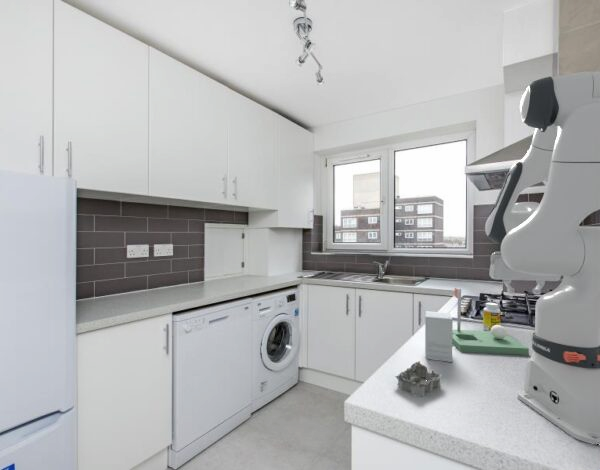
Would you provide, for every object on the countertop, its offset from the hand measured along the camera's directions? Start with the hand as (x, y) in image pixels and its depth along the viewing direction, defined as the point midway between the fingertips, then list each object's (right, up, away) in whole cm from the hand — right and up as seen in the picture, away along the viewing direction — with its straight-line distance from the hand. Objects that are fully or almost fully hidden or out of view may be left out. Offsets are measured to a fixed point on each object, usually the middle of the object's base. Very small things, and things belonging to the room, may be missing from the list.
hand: (523, 293), depth 104 cm
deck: (-12, -17, +3) cm, 21 cm away
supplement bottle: (-1, -17, +16) cm, 24 cm away
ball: (-8, -13, +1) cm, 15 cm away
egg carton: (-45, -18, -27) cm, 55 cm away
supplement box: (-32, -17, -9) cm, 38 cm away
